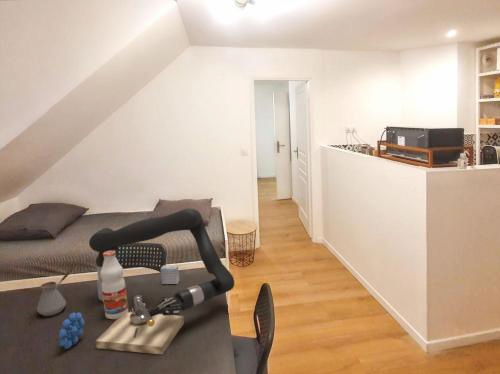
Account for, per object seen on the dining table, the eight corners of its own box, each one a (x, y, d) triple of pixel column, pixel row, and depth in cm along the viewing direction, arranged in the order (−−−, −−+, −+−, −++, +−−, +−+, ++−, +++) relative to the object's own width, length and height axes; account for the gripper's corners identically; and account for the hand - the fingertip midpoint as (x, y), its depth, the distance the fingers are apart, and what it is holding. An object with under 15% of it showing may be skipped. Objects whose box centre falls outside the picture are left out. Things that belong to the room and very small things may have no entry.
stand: (96, 348, 131) (95, 340, 131) (125, 318, 151) (125, 311, 150) (162, 354, 126) (161, 346, 125) (184, 322, 145) (183, 315, 145)
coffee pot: (52, 320, 152) (46, 287, 149) (31, 316, 156) (25, 284, 153) (88, 296, 172) (84, 266, 169) (69, 293, 176) (65, 265, 173)
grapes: (77, 333, 141) (72, 305, 139) (90, 336, 139) (86, 307, 137) (52, 352, 130) (47, 321, 128) (66, 355, 128) (62, 324, 126)
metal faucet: (128, 318, 144) (125, 297, 143) (148, 312, 148) (146, 291, 147) (142, 348, 125) (139, 324, 123) (165, 340, 129) (162, 316, 127)
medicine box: (179, 281, 184) (178, 265, 182) (177, 285, 180) (175, 268, 178) (164, 281, 185) (163, 265, 183) (161, 285, 180) (160, 268, 179)
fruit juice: (128, 306, 161) (121, 246, 155) (128, 317, 152) (120, 254, 146) (106, 310, 158) (98, 250, 153) (104, 321, 149) (95, 257, 144)
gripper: (180, 283, 147) (140, 298, 137) (197, 294, 137) (155, 311, 126) (182, 300, 149) (142, 316, 138) (199, 312, 138) (157, 330, 128)
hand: (148, 314), depth 132 cm, fingers closed
